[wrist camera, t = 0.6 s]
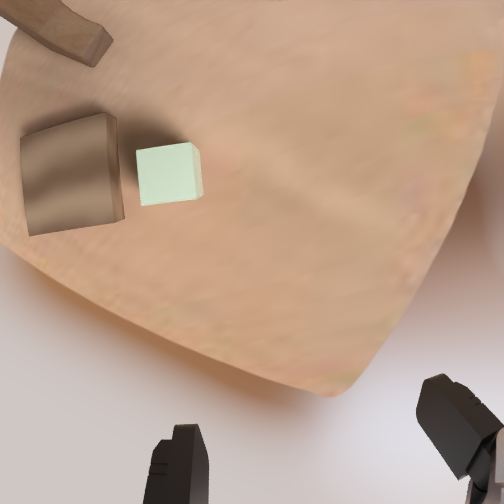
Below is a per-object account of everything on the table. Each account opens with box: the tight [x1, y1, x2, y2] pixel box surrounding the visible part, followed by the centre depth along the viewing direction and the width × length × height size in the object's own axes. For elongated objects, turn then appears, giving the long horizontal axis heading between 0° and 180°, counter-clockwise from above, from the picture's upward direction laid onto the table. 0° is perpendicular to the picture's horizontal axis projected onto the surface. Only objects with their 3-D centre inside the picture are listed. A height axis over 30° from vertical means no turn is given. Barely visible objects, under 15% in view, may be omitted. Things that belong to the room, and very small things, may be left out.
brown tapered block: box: [20, 112, 125, 236], centre depth 31 cm, size 12×12×4 cm
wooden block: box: [0, 0, 113, 67], centre depth 20 cm, size 9×4×18 cm, turn 58°
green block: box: [136, 142, 203, 206], centre depth 30 cm, size 5×5×8 cm
